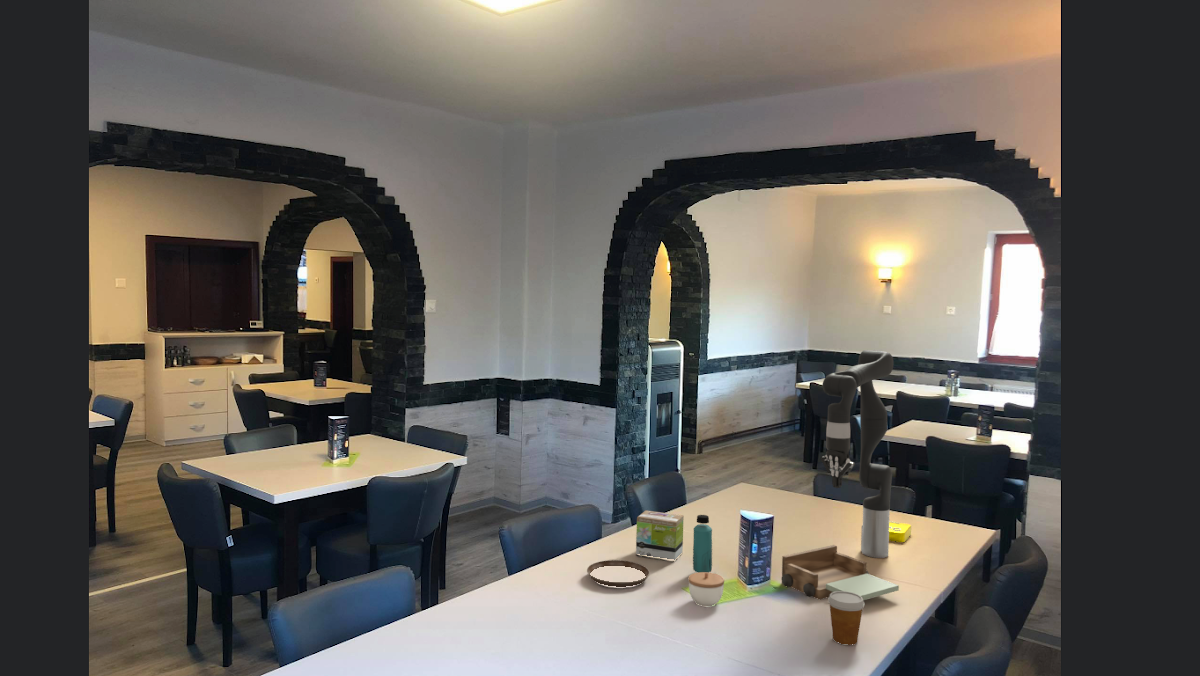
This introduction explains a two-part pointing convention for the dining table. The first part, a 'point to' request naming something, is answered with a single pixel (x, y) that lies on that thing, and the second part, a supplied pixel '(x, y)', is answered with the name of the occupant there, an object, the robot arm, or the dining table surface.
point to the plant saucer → (618, 563)
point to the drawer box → (819, 570)
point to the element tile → (899, 531)
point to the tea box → (659, 534)
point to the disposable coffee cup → (845, 616)
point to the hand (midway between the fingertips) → (836, 487)
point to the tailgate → (863, 586)
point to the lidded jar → (706, 588)
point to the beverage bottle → (702, 545)
